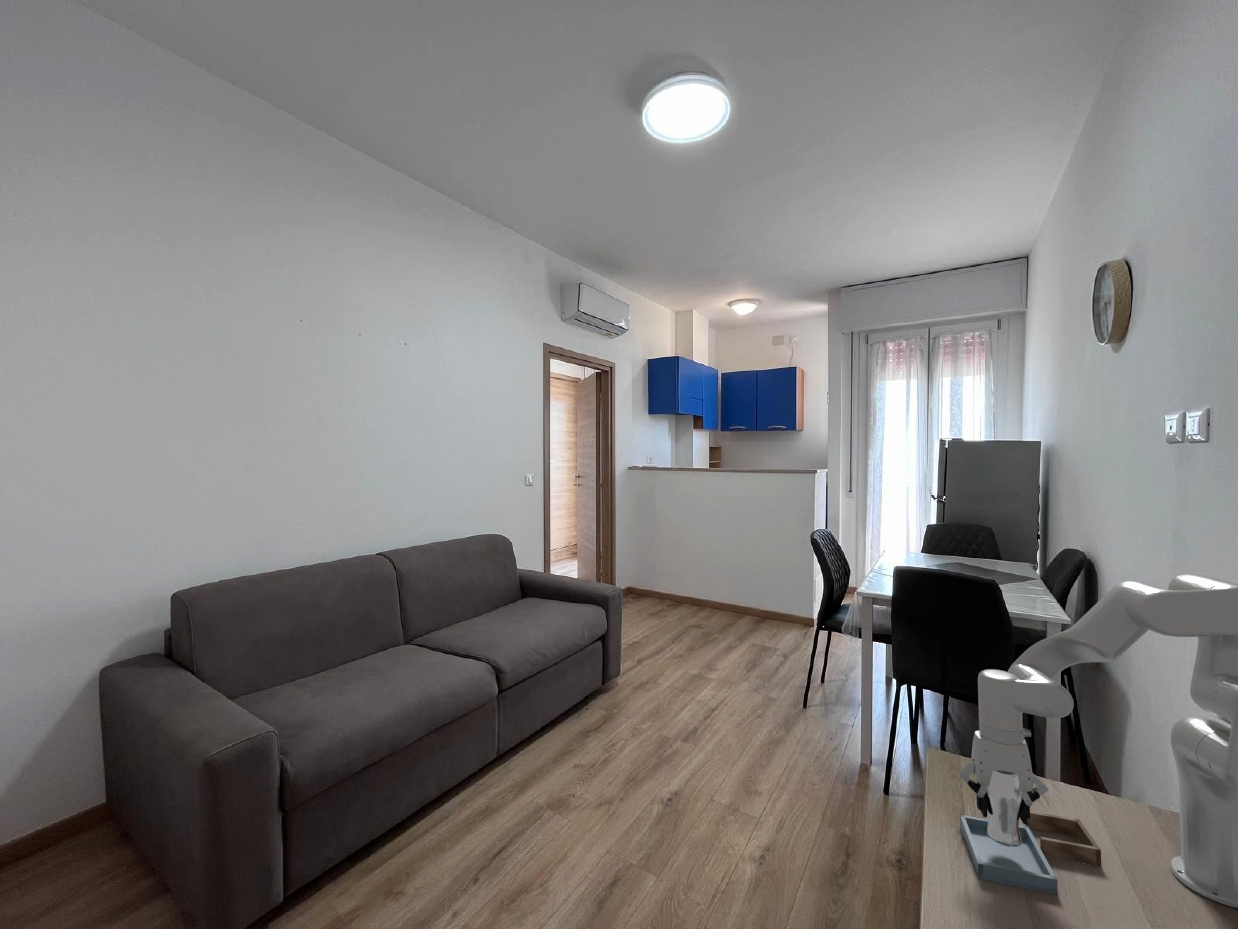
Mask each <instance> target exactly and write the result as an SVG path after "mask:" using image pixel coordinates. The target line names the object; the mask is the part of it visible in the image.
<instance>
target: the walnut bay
mask: <svg viewBox="0 0 1238 929" xmlns="http://www.w3.org/2000/svg"><path fill="white" fill-rule="evenodd" d="M1027 822H1028V825H1025V826H1026V827H1029V829H1030V830H1036V831H1042V832H1047V833H1053V834H1058V835H1063V836H1064V835H1065V836H1069V835H1070V837H1074V836H1076V837H1075V838H1077V839H1078V841H1079V840H1080V841H1079V842H1080V843H1076V842H1071V841H1066V840H1061V839H1055V838H1050V837H1044V836H1040V837H1039V841H1040V842H1039V844H1040V845H1039V847H1040V849H1041V851H1042V853H1043V854H1044V856H1045V857H1048V858H1054V859H1058V860H1064V861H1068V862H1073V863H1077V862H1078V864H1082V863H1085V864H1084V865H1088V864H1089V865H1088V866H1093V865H1095V866H1094V867H1098V866H1101V867H1102V852H1101V851H1102V849H1101V848H1100V846H1098V844H1097V842H1096V841H1095V839H1094V838H1093V836H1092V835H1091V834H1090V832H1089V831H1088V830H1087V828H1086V827H1085V825H1084V824H1083V822H1082V821H1081V820H1080V819H1078V818H1072V817H1071V818H1070V817H1066V816H1060V815H1054V814H1048V813H1043V812H1037V811H1031V810H1030V819H1028V818H1027ZM1081 843H1082V844H1081ZM1079 862H1080V863H1079Z"/></svg>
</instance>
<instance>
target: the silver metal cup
mask: <svg viewBox="0 0 1238 929" xmlns="http://www.w3.org/2000/svg"><path fill="white" fill-rule="evenodd" d="M986 790H987V791H986V793H985V797H986V799H987V819H988V824H987V828H986V833H987V835H988V836H989V837H990V838H991V839H992V840H993V841H995V842H997V843H999V844H1001V845H1004V846H1008V847H1018V846H1020V845H1021V843H1022V841H1021V836H1020V832H1019V824H1020V812H1021V807H1022V801H1023V792H1022V791H1021V786H1020V782H1019V777H1018V774H1004V773H1000V772H997V771H994V770H993V773H992V777H991V781H990V785H989V786H986Z"/></svg>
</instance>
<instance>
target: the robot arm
mask: <svg viewBox="0 0 1238 929" xmlns="http://www.w3.org/2000/svg"><path fill="white" fill-rule="evenodd" d="M1149 631H1150V632H1153V633H1156V634H1159V635H1161V636H1167V637H1176V638H1177V637H1178V638H1180V637H1181V638H1183V637H1184V638H1189V637H1190V638H1193V637H1194V638H1196V637H1197V650H1196V654H1195V660H1194V665H1193V668H1192V669H1193V670H1192V675H1191V681H1190V687H1189V688H1190V689H1189V691H1190V692H1189V693H1190V697H1191V699H1192V701H1193V702H1194V703H1195V704H1196V705H1197V706H1198V707H1199V708H1200V709H1202V710H1204V711H1205V712H1207V713H1208V714H1210V715H1212V716H1214V717H1216V718H1217V719H1218V720H1221V721H1223V722H1225V723H1226V724H1229V725H1230V727H1228V726H1226V725H1224V724H1223V723H1221V722H1218V721H1215V720H1213V719H1209V718H1207V717H1202V716H1187V717H1183V718H1181V719H1178V720H1177V721H1176V723H1175V724H1174V725H1173V726H1172V728H1171V731H1170V744H1171V749H1172V754H1173V757H1174V759H1175V760H1174V761H1175V765H1176V768H1177V769H1176V770H1177V778H1178V800H1179V805H1178V806H1179V828H1180V831H1179V832H1180V834H1179V835H1180V852H1181V853H1180V856H1175V857H1173V858H1172V859H1171V860H1170V868H1171V872H1172V874H1173V875H1174V877H1176V878H1177V879H1178V880H1179V881H1180V882H1181V883H1182V884H1184V885H1185V886H1186V887H1188V888H1189V889H1190V890H1192V891H1193V892H1196V893H1198V894H1199V895H1201V896H1203V897H1205V898H1207V899H1210V900H1211V901H1214V902H1217V903H1219V904H1222V905H1225V906H1228V907H1232V908H1234V909H1235V908H1236V909H1238V583H1236V582H1230V581H1227V580H1224V579H1223V580H1222V579H1221V578H1220V579H1219V578H1217V577H1210V576H1207V575H1201V574H1195V573H1187V574H1186V573H1185V574H1180V575H1177V576H1175V577H1174V578H1173V579H1171V581H1170V582H1169V584H1168V588H1164V587H1160V586H1157V585H1154V584H1151V583H1147V582H1143V581H1136V580H1125V581H1122V582H1120V583H1118V584H1116V585H1114V586H1113V587H1112V588H1111V589H1110V590H1109V591H1108V592H1107V593H1106V594H1105V595H1104V596H1103V597H1101V598H1100V600H1098V601H1097V602H1096V603H1095V604H1094V605H1093V606H1092V607H1091V608H1090V609H1089V610H1088V611H1087V612H1086V613H1085V614H1084V615H1082V617H1081V618H1080V619H1079V620H1077V621H1076V622H1075V623H1074V624H1073V625H1072V626H1071V627H1070V628H1067V629H1066V630H1063V631H1061V632H1060V631H1059V632H1057V633H1055V634H1053V635H1051V636H1049V637H1046V638H1044V639H1041V640H1040V641H1037V642H1035V643H1034V644H1032V645H1031V646H1030V647H1028V648H1027V649H1026V650H1025V651H1024V652H1023V653H1022V654H1020V655H1019V657H1018V658H1017V659H1016V660H1015V661H1014V662H1013V663H1012V664H1011V665H1010V667H1009V669H1008V670H1007V671H1005V670H1000V669H994V668H993V669H989V668H988V669H984V670H983V669H982V670H981V671H980V672H979V673H978V677H977V692H978V693H977V694H978V696H977V697H978V698H977V699H978V702H977V703H978V727H979V728H978V729H979V730H975V731H974V734H973V739H972V747H971V748H972V750H971V762H970V763H968V764H967V765H966V766H964V767H962V768H961V769H960V770H958V775H959V777H960V779H962V780H963V781H964V783H965V784H967V786H968V787H969V788H970V789H971V790H972V791H973V792H974V793H975V794H976V807H977V810H979V811H980V813H981V815H982V816H983V818H988V811H987V799H986V797H985V793H986V791H987V790H986V786H989V785H990V781H991V777H992V773H993V770H994V771H997V772H1000V773H1004V774H1018V777H1019V782H1020V786H1021V791H1022V792H1023V801H1022V807H1021V812H1020V817H1019V820H1021V823H1022V824H1024V826H1026V825H1028V822H1027V818H1028V819H1030V811H1031V806H1033V803H1034V802H1035V801H1037V800H1038V799H1040V797H1041V796H1043V795H1045V794H1046V793H1047V792H1049V788H1048V786H1047V785H1046V784H1045V782H1043V781H1042V780H1041V779H1040V778H1039V777H1038V776H1037V775H1036V774H1034V773H1033V769H1032V761H1031V757H1030V755H1031V754H1030V752H1029V748H1028V744H1027V742H1026V740H1025V738H1027V737H1030V738H1031V737H1032V732H1031V730H1030V729H1026V728H1025V727H1023V713H1024V714H1029V715H1033V716H1037V717H1038V716H1039V717H1042V718H1048V719H1061V718H1064V717H1067V716H1069V715H1070V714H1071V713H1072V712H1073V709H1074V706H1075V703H1074V699H1073V697H1072V694H1071V693H1070V692H1069V691H1068V689H1067V688H1065V686H1063V685H1062V684H1061V683H1060V682H1058V681H1057V680H1055V679H1054V677H1056V676H1057V675H1058V674H1059V673H1061V672H1062V671H1063V670H1065V669H1068V668H1069V667H1072V666H1074V665H1078V664H1085V663H1107V662H1108V663H1109V662H1114V661H1117V660H1118V659H1119V658H1121V657H1122V655H1123V654H1124V653H1126V651H1128V650H1129V649H1130V648H1131V647H1132V646H1133V645H1134V644H1136V642H1138V640H1140V639H1141V637H1143V636H1144V635H1146V633H1147V632H1149ZM973 774H974V776H975V780H976V781H974V779H972V778H971V777H970V776H971V775H973ZM1034 785H1035V787H1034Z"/></svg>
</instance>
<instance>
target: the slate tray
mask: <svg viewBox="0 0 1238 929" xmlns="http://www.w3.org/2000/svg"><path fill="white" fill-rule="evenodd" d="M987 824H988V818H980V817H975V816H970V815H965V814H959V826H960V831H961V833H962V836H963V840H964V842H965V845H966V847H967V850H968V853H969V856H970V858H971V861H972V864H973V866H974V869H975V873H976V875H977V878H978V879H980V880H986V881H990V882H995V883H999V884H1004V885H1009V886H1013V887H1017V888H1018V887H1019V888H1022V889H1025V890H1026V889H1027V890H1031V891H1036V892H1040V893H1045V894H1051V895H1054V896H1059V894H1058V893H1059V887H1058V882H1059V881H1058V878H1057V877H1056V874H1055V872H1054V871H1053V869H1052V867H1051V866H1050V864H1049V861H1048V859H1047V858H1046V856H1044V854H1043V853H1042V851H1041V849H1040V845H1039V844H1038V842H1037V840H1036V838H1035V836H1034V835H1033V832H1032V830H1031V829H1030V828H1029V827H1026V825H1021V824H1020V825H1019V832H1020V836H1021V841H1022V843H1021V845H1020V846H1018V847H1008V846H1004V845H1001V844H999V843H997V842H995V841H993V840H992V839H991V838H990V837H989V836H988V835H987V833H986V828H987Z"/></svg>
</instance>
